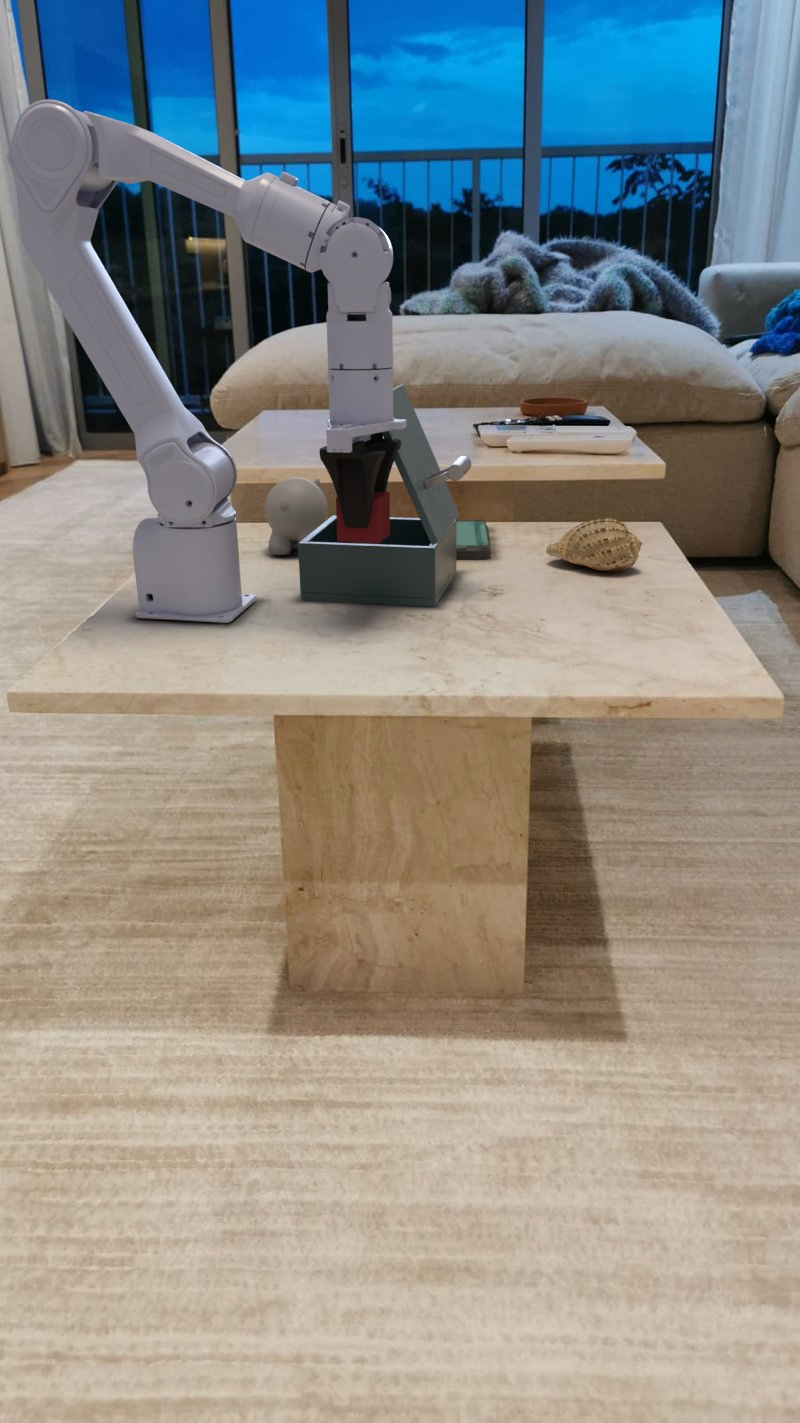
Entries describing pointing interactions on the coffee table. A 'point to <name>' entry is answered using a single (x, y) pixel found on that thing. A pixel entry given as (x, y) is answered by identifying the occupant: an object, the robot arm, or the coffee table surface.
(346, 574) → the grey-green open box
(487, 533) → the smartphone
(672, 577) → the coffee table surface
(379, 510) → the block
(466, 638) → the coffee table surface
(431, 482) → the lid
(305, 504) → the chubby cartoon animal
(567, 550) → the seashell
